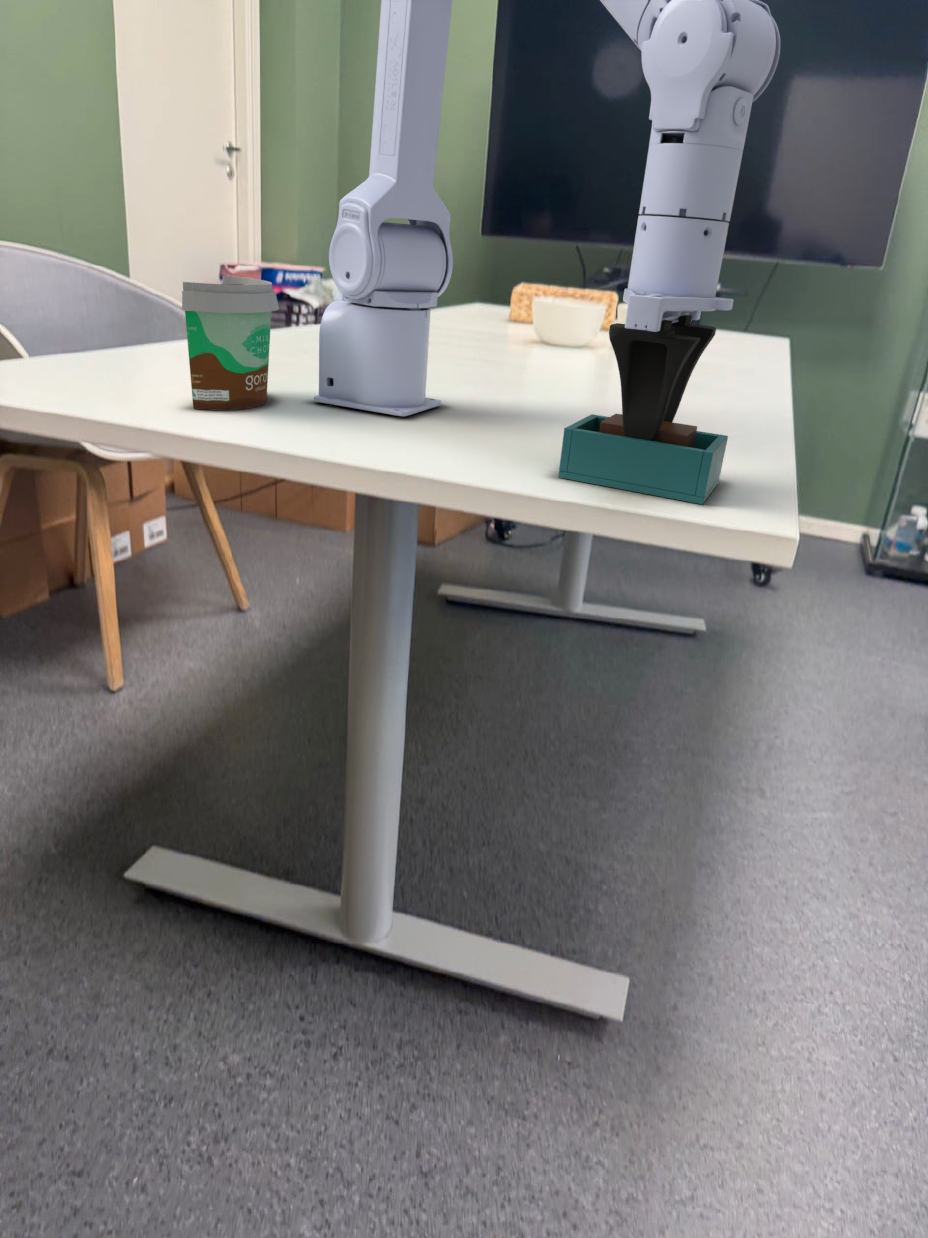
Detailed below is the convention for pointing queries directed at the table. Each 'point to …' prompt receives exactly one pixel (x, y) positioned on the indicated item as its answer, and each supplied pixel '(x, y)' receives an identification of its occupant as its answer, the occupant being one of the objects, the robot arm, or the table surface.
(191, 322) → the food container
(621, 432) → the chocolate bar
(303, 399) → the table surface
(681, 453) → the open storage box
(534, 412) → the table surface
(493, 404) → the table surface
